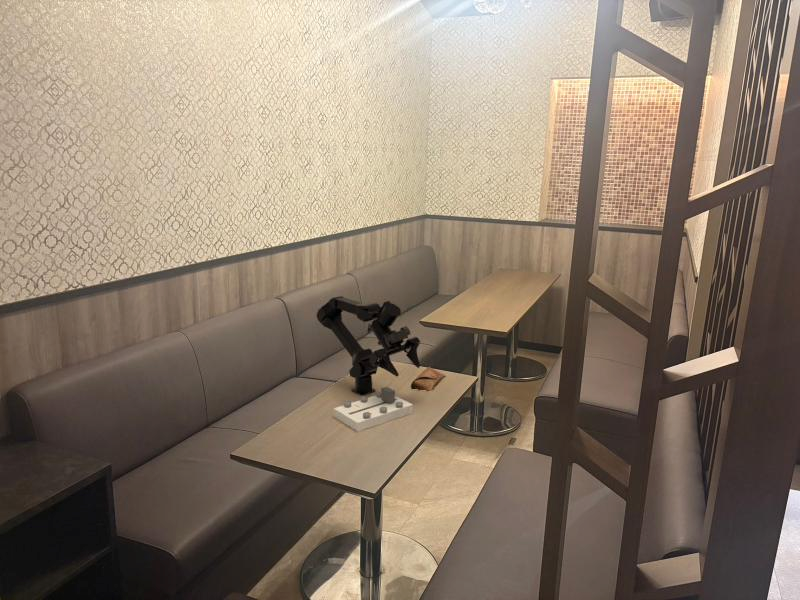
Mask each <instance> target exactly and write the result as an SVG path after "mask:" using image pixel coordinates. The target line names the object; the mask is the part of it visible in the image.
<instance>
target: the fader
mask: <svg viewBox="0 0 800 600" xmlns="http://www.w3.org/2000/svg"><path fill="white" fill-rule="evenodd" d="M380 392H381V400H383V401H385V402H387V403H389V404H390V403H393V402H395V396H396V391H395V389H392V388H390V387H388V386H384V387H381V388H380Z"/></svg>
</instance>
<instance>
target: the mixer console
mask: <svg viewBox="0 0 800 600" xmlns="http://www.w3.org/2000/svg"><path fill="white" fill-rule="evenodd" d="M413 413H414V405H413V404H412V403H410V402H409V401H407V400H406V399H405V400H404V399H402V398H400V397H399V396H397V395H395V402H393V403H390V404H389V403H387V402H385V401H383V400H381V391H377V392H376V393H375V395H373V396H370V397H369V396H361V397H360V399H359V400H356V401H353V402H352V401H347V400H346V401H344V402H343V405H340V406H337V407H333V418H335V419H336V420H338V421H340V422H341V423H343V424H345V425H347V426H348V427H349V426H350V427H349V428H351V429H352V430H353V431H356V432H357V433H359V432H361V430H362V431H364V429H365V430H367V428H368V429H369V428H373V427H376V426H379V425H382V424H385V423H388V422H391V421H393V420H397V419H399V418H402V416H403V417H405V415H406V416H408V415H411V414H413Z"/></svg>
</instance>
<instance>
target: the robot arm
mask: <svg viewBox="0 0 800 600" xmlns="http://www.w3.org/2000/svg"><path fill="white" fill-rule="evenodd" d="M343 312H347V313H349V314H353V315H355V316H356V318H357V319H358V320H360V321H361V322H363V323H367V322H371V321H372V322H371V323H369V324H368V327H367V333H371V332H372V333H373V334H374V337H375V338H376V339H377V340H378V342H377V345H378V346H381V347H382V348H379V349H376V350H374V351H372V349H371V348H366V349H365V348H363V347H362V346H361V344H360V343H359V342H358V341H357V339H356V338H355V336H354V335H353V334H352V333H351V331H350V330H349V329H348V327H347V326H346V325H345V323H344V322H343V317H342V316H343V314H342V313H343ZM401 312H402V310H401V308H400V307H399V306H397V304H395V303H392V302H391V301H390V300H387V301H384V302H383V303H382V305H381V306H380V304H379V303H377V302H363V303H362V302H359V301H357V300H353V299H349V298H347V297H344V296H342V295H339V296H334V297H331V298H330V299H329V300H328V301H327V302H326V303H325V304H323V305H322V306H321V307H320V308H318V310H317V312H316V319H317V322H319V323H320V324H321V325H322V326H323V327H324V328H326V329H329V330H331V331H332V333H333V334H334V335H335V337H336V338H337V339H338V341H339V342H340V343H341V345H342V346H343V348H344V349H345V350H346V351H347V352H348V354H349V355H350V357H351V365H352V367H351V368H350V369H349V373H348V374H349V375H350V377H351V378H354V383H355V386H354V387H353V388H351V391H352V392H354V393H356V394H358V395H360V396H365V395H367V394H371V393H374V392H376V389H375V388H373V377H372V375H376V374H377V371H378V368H380V369H381V368H382V369H384V370H385V371H387V372H388V373H390V374H392V375H393V376H395V377H398V376H399V375H400V374H399V372H398V370H397V369H396V367H395V365H394V364H393V363H392V361H391V358H390V356H392V355H397V354H398V353H401V352H404V353H405V354H406V355H405V356H406V357H407V358H408V359H409V360H410V362H411V363H412V364H413V365H414V366H415V367H416V368H417V369H420V366H421V364H420V359H419V357H418V347H419V346H420V344H421V340H420V338H419V337H417V336H413V337H410V338H409V336H410V335H411V330H410V328H409V326H407V325H405V326H402V327H400V330H398V331H396V330H392V328H391V327H392V326H393V325H394V324H395V322H396V321H397V319H398V318H399V317H400V315H401ZM405 339H407V340H406V341H405V342H404V340H405ZM403 343H404V344H403Z"/></svg>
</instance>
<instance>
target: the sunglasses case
mask: <svg viewBox="0 0 800 600" xmlns="http://www.w3.org/2000/svg"><path fill="white" fill-rule="evenodd" d="M445 376H446V374H444V373H441V372H440V371H437V370H436V369H434V368H432V367H430V365H429V366H428V367H427V368H425V370H423V371H421V373H420V374H418V376H417V377H416V378H415V379H414V380H413V381H412V382H411V384H410V388H411V390H412V389H418V390H417V391H420V390H426V391H425V392H429V391H432V390H433V391H434V389H435V388H434V387H436V386H438V385H439V383H440V382H441V381H442V380H443V379H444V378H443V377H445ZM442 378H443V379H442ZM445 378H446V377H445ZM441 379H442V380H441ZM440 380H441V381H440ZM439 381H440V382H439ZM433 391H432V392H433Z"/></svg>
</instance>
